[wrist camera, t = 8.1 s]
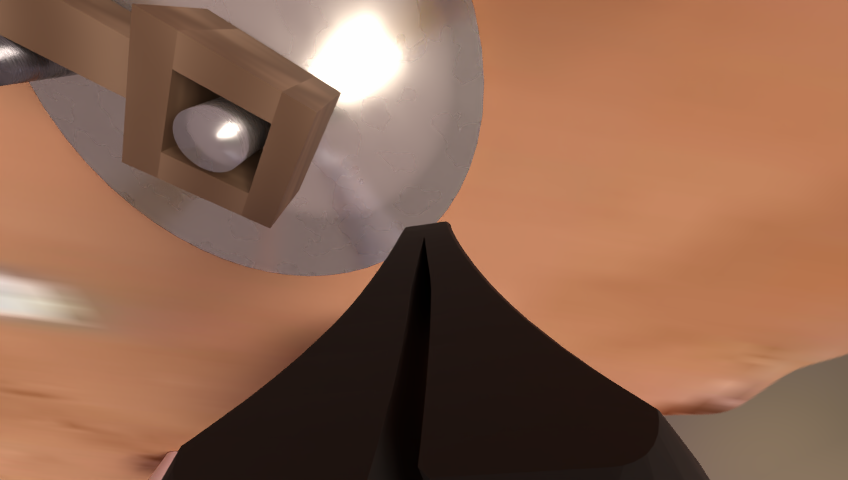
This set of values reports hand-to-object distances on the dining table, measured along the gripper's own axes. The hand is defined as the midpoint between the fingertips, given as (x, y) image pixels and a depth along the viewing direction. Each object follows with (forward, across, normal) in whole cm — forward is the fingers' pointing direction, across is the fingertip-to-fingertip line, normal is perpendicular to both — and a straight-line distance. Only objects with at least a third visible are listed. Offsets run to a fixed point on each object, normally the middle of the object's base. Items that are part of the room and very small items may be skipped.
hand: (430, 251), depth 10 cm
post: (+10, +8, -4) cm, 13 cm away
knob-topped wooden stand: (+8, +11, -7) cm, 16 cm away
